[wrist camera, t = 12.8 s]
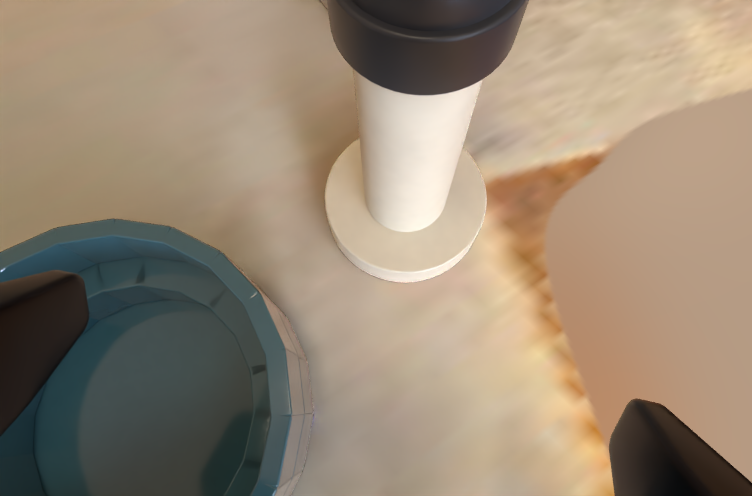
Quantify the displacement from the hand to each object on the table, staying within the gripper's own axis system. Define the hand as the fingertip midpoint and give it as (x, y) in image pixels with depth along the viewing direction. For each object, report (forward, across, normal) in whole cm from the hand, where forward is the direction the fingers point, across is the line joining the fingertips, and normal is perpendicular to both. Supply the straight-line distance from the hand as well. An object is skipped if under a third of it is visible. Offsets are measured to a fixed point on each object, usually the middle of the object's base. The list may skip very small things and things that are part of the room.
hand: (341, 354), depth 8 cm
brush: (+13, 0, +3) cm, 13 cm away
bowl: (+6, +7, +10) cm, 13 cm away
